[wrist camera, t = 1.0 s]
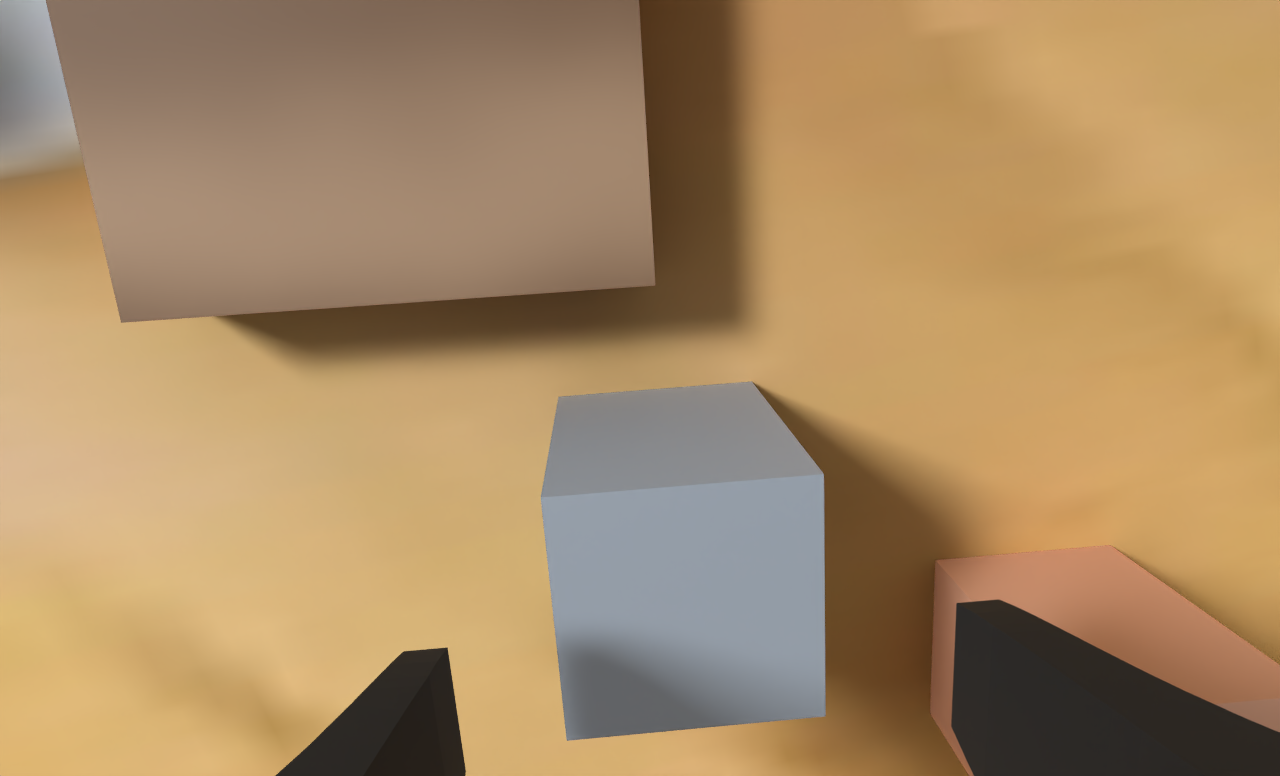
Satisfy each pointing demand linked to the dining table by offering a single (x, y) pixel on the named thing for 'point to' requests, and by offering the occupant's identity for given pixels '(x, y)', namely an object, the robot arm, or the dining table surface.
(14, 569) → the dining table surface
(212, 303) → the walnut base
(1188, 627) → the terracotta block
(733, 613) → the slate block
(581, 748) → the dining table surface
